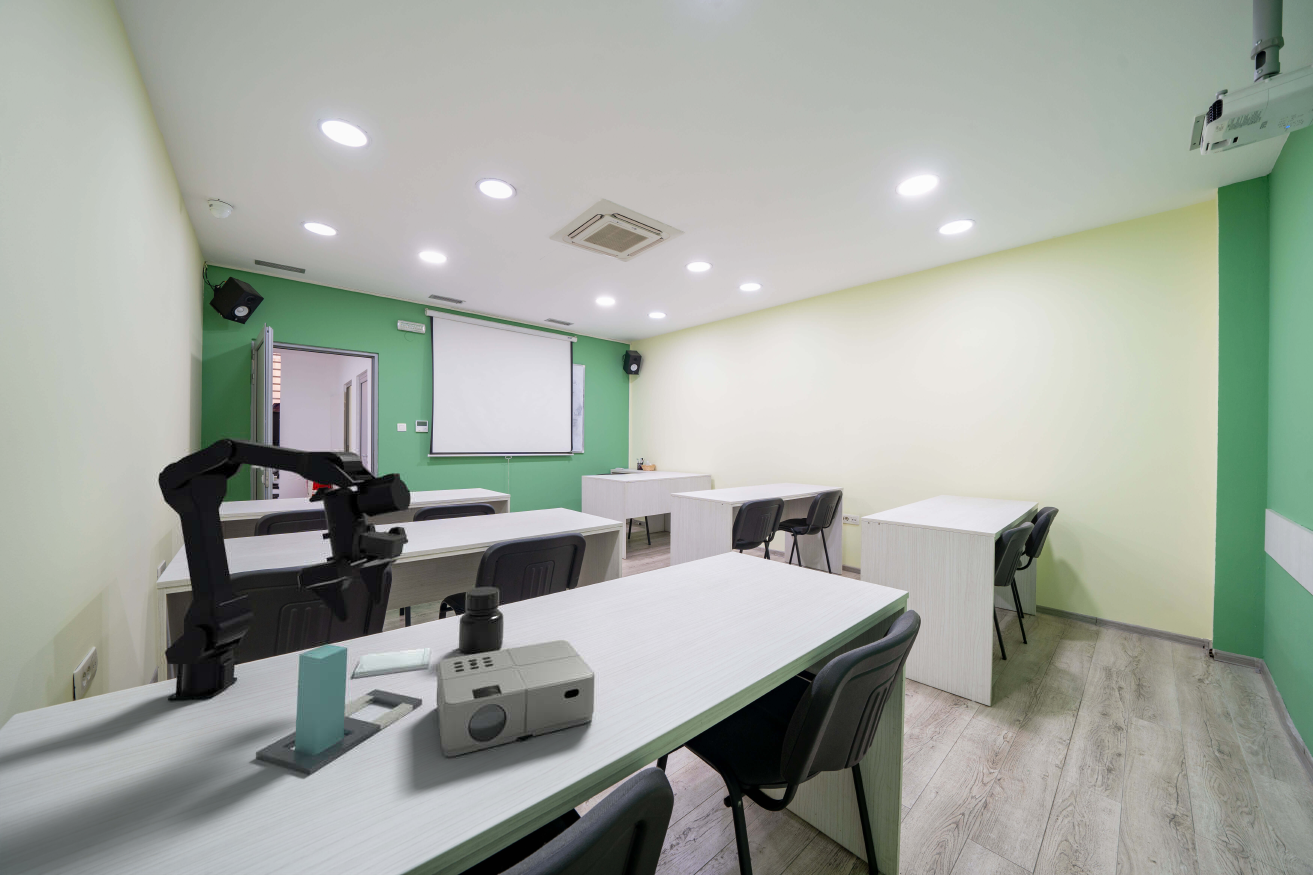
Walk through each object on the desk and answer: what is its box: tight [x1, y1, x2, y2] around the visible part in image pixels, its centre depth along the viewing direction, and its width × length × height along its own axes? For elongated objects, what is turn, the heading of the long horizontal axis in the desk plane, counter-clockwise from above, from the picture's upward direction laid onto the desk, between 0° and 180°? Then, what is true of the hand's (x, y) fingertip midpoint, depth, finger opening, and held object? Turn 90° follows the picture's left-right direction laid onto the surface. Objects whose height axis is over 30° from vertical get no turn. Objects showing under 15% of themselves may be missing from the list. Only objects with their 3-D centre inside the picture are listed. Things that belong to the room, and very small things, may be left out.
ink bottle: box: [458, 586, 504, 655], centre depth 102 cm, size 10×9×12 cm
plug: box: [294, 643, 348, 756], centre depth 67 cm, size 4×4×13 cm
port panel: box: [255, 688, 423, 776], centre depth 71 cm, size 18×10×1 cm, turn 162°
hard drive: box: [353, 647, 432, 679], centre depth 93 cm, size 2×8×12 cm
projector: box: [436, 639, 595, 758], centre depth 76 cm, size 17×22×8 cm
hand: (362, 611), depth 82 cm, fingers open, 9 cm apart
